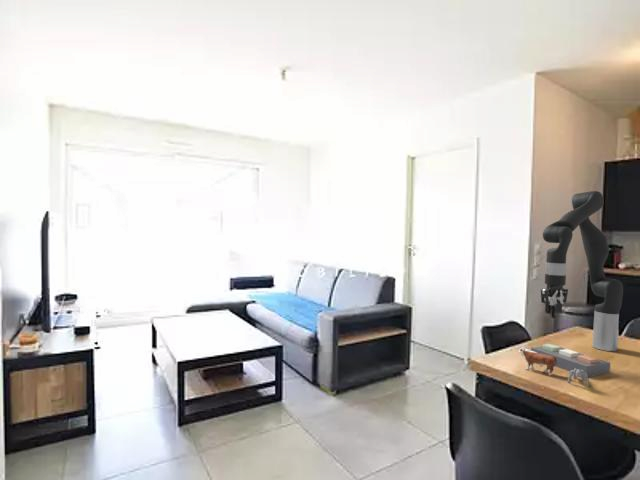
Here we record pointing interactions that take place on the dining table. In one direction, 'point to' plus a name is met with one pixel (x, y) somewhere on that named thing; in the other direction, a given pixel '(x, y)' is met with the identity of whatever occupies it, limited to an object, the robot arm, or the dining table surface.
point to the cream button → (568, 353)
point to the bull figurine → (538, 359)
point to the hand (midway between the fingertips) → (553, 312)
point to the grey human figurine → (578, 375)
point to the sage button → (551, 347)
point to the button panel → (576, 363)
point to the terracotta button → (587, 359)
